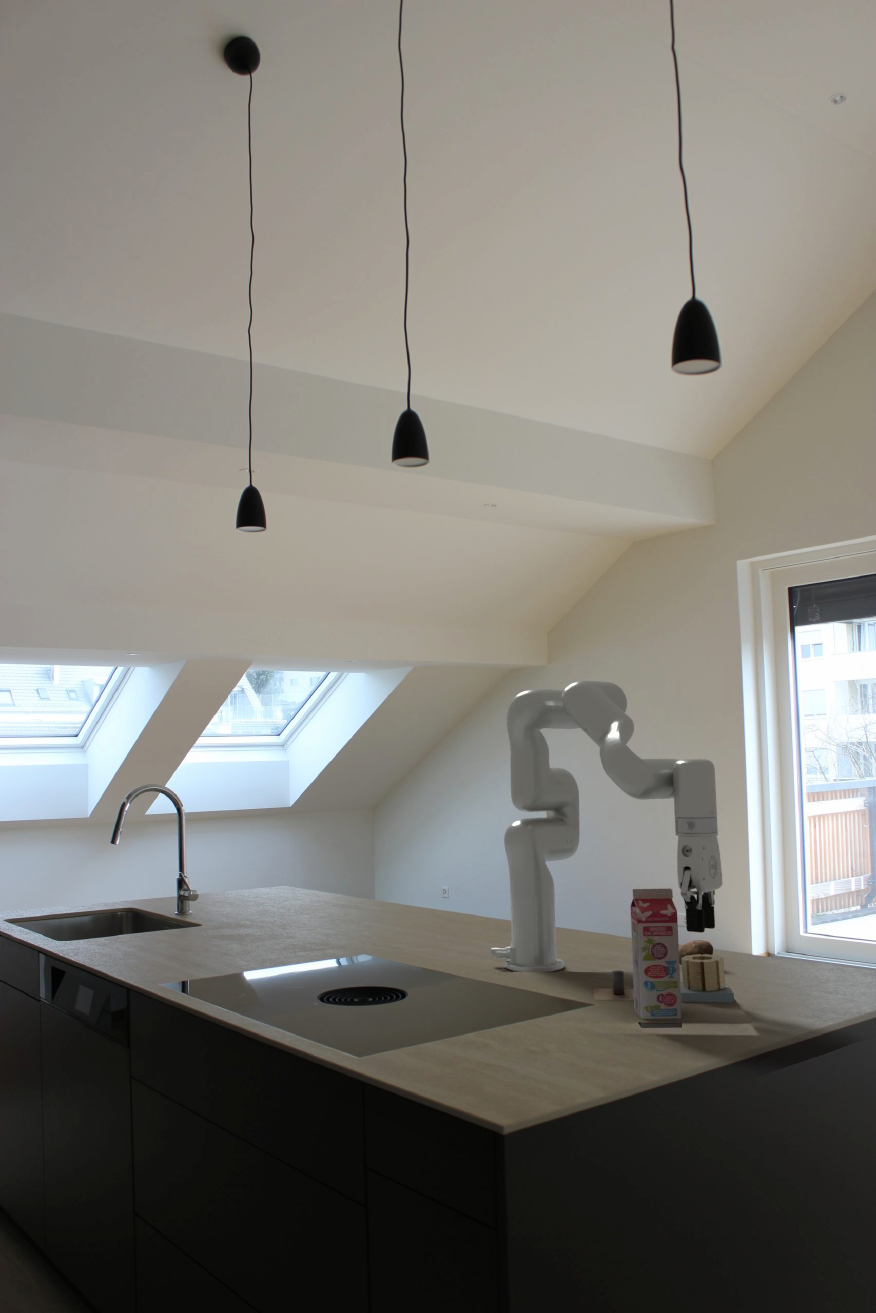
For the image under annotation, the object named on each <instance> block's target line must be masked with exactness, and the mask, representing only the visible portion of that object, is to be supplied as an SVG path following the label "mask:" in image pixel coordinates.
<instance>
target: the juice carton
mask: <svg viewBox="0 0 876 1313" xmlns="http://www.w3.org/2000/svg"><path fill="white" fill-rule="evenodd" d="M673 894H674V893H673V889H672V888H632V901H631V904H630V928H631V930H630V931H631V953H632V955H631V957H632V979H633V982H632V983H633V989H634V1000H633V1003H634V1004H633V1005H634V1010H635V1012H636V1014H637V1016H639V1018H640V1019H641V1020H643V1019H644V1020H646V1019H647V1020H648V1019H651V1020H652V1019H658V1020H659V1019H663V1020H664V1019H682V1016H683V1015H682V1014H683V1012H682V1002H681V990H680V982H681V970H680V969H681V968H680V963H679V950H680V948H679V947H680V946H679V924H678V922H679V921H678V910H677V908H676V905H675V903H674V900H673V898H674V897H673ZM637 1024H638V1025H639V1027H640V1028H641V1029H657V1028H658V1029H661V1028H662V1029H664V1028H666V1029H667V1028H668V1029H669V1028H670V1029H671V1028H672V1029H674V1028H677V1029H678V1028H683V1023H682V1022H648V1021H647V1022H645V1021H644V1022H643V1021H642V1022H641V1021H638V1022H637Z"/></svg>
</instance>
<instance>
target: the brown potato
mask: <svg viewBox="0 0 876 1313" xmlns="http://www.w3.org/2000/svg"><path fill="white" fill-rule="evenodd" d="M698 954H701V955H704V954H707V955H714V947H713V945H712V943H711V942H710V941H707V940H703V939H697V940H696V939H695V940H692V941H687V942H686V943H684V944H683V945H682V946H681V947H680V948H679V966H681V967H682V961H681V958H682V957H684V956H689V955H698Z"/></svg>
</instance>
